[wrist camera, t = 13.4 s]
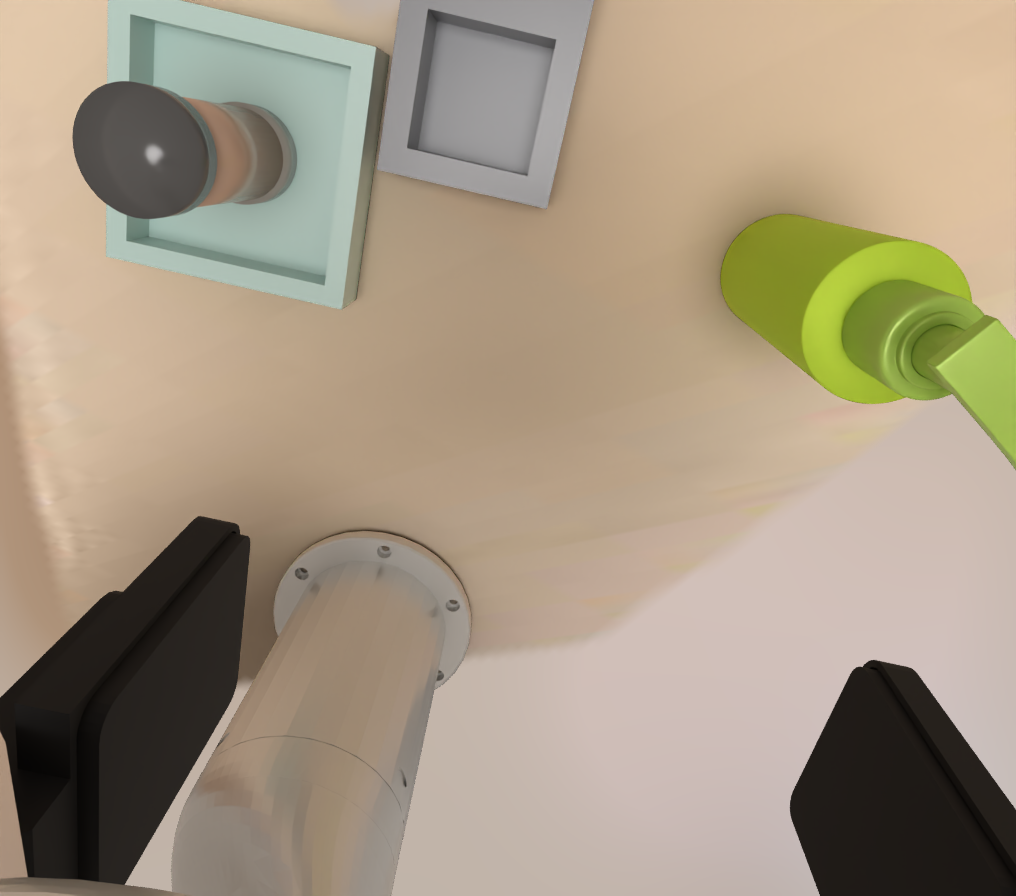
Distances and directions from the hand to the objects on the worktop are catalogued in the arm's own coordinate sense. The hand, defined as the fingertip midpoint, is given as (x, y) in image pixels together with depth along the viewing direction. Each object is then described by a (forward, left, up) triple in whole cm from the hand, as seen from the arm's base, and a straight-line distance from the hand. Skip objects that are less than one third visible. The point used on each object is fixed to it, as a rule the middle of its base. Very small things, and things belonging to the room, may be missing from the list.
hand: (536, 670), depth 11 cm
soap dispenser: (+4, -12, -31) cm, 33 cm away
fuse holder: (+14, +5, -30) cm, 34 cm away
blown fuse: (+4, +16, -30) cm, 34 cm away
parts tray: (+4, +16, -30) cm, 34 cm away
